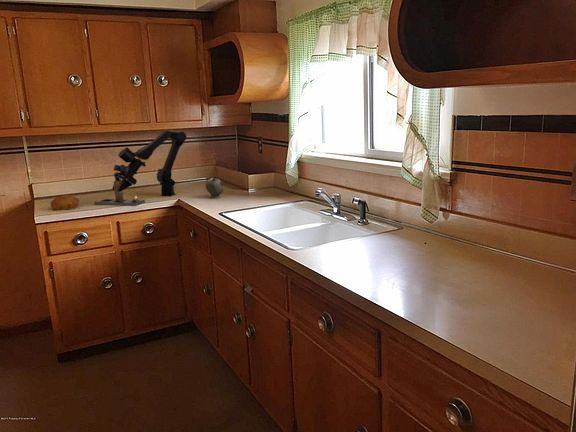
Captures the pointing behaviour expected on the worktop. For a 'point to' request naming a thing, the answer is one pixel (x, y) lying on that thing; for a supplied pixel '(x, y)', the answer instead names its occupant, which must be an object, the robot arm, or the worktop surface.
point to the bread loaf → (64, 202)
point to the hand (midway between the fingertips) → (115, 190)
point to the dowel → (118, 194)
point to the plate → (125, 202)
